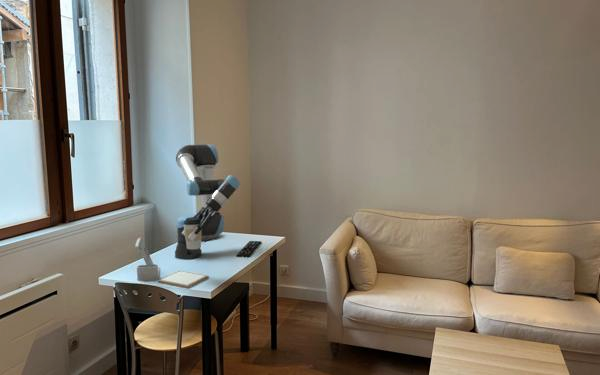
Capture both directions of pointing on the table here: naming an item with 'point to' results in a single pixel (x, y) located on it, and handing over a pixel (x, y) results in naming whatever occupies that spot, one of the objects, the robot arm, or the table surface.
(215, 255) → the table surface
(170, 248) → the table surface
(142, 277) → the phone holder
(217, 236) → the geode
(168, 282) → the notebook
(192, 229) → the coffee cup
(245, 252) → the remote control
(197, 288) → the table surface
